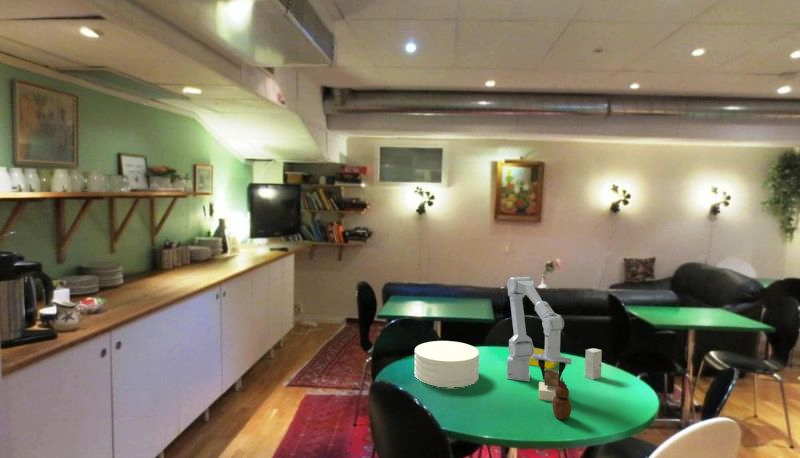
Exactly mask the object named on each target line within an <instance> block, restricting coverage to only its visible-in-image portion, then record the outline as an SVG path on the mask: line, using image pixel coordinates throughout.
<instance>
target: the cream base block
mask: <svg viewBox="0 0 800 458" xmlns="http://www.w3.org/2000/svg"><path fill="white" fill-rule="evenodd" d="M555 390H556V387H553V386H545V385H544V381H539V382H538V400H539V401H540V400H541V401H549V402H553V398H554V397H555V396H556V394H555Z"/></svg>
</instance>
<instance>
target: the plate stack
mask: <svg viewBox="0 0 800 458" xmlns="http://www.w3.org/2000/svg"><path fill="white" fill-rule="evenodd" d="M479 367H480V351H479V349H478V348H476V347H475V346H473V345H470V344H468V343H464V342H459V341H452V340H451V341H450V340H436V341H434V340H433V341H428V342H424V343H421V344H418V345H417V346H415V348H414V374H415V375H414V378H415V377H416V378H417V379H419V380H420V381H422V382H424V383H427V384H430V385H434V386H438V387H437V388H439V387H448V388H447V389H455V388H454V387H462V388H465V387H464V386H467V387H469V386H468V385H470V386H472V385H471V384H473V385H474V384H476V383H477V382H478V381H479V372H480V371H479V369H480V368H479ZM416 378H415V379H416ZM417 379H416V380H417ZM477 380H478V381H477ZM476 381H477V382H476ZM475 382H476V383H475Z"/></svg>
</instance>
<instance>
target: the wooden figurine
mask: <svg viewBox="0 0 800 458" xmlns="http://www.w3.org/2000/svg"><path fill="white" fill-rule="evenodd" d="M555 394H556V396H555V397H554V398H553V401H551V403H552V405H551V406H552V410H553V415H554V417H555V418H557V419H558V420H560V421H561V420H563V421H564V420H568V419H569V417H570V415H571V414H572V404H571V401H570V399H569V396H570V390H569V388H568V386H567V384H566V383H565V380H563V377H561V378H560V376H559V375H558V386H557V387H556V390H555Z"/></svg>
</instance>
